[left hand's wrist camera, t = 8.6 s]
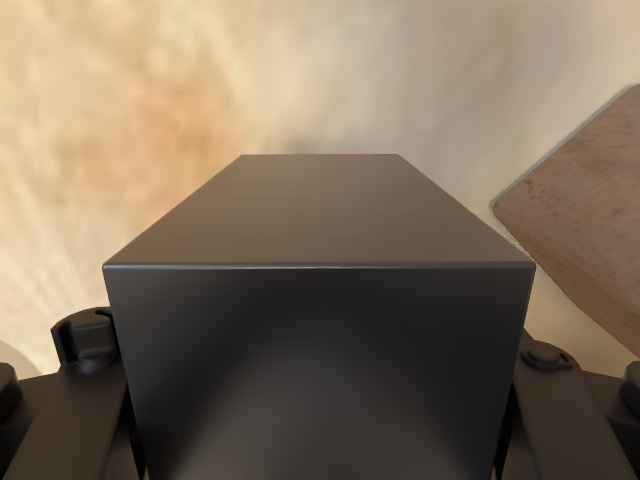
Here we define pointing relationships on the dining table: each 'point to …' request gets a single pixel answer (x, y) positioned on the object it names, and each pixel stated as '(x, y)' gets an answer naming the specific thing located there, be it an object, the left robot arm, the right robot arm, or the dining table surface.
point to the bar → (319, 325)
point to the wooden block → (589, 218)
